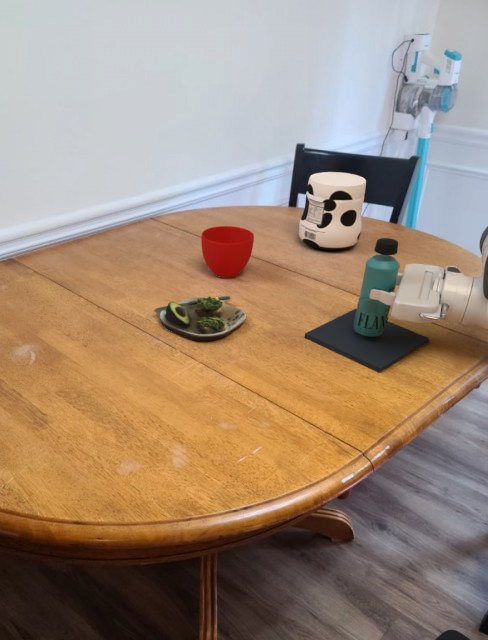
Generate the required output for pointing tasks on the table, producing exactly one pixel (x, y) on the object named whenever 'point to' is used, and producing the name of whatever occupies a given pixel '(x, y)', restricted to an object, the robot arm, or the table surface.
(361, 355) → the mat
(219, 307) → the salad plate
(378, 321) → the beverage bottle
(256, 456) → the table surface
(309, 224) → the milk container
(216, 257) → the ceramic cup
